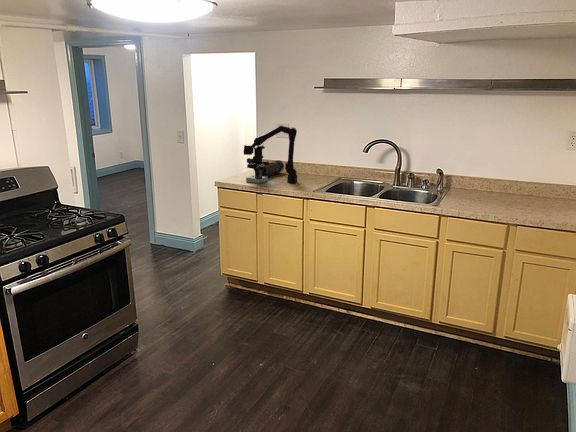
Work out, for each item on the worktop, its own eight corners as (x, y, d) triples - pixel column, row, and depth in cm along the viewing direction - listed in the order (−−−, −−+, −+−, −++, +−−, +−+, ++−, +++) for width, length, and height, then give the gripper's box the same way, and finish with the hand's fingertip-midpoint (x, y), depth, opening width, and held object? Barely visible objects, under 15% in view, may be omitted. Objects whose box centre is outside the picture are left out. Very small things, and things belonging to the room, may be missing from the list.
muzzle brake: (256, 178, 361) (256, 164, 358) (275, 172, 384) (274, 159, 382) (267, 179, 356) (267, 165, 354) (285, 173, 380) (285, 160, 377)
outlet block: (267, 182, 345) (267, 177, 344) (259, 184, 337) (259, 179, 336) (255, 180, 352) (254, 175, 351) (246, 182, 344) (246, 177, 343)
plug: (262, 179, 343) (262, 169, 341) (259, 180, 341) (259, 170, 339) (257, 178, 345) (257, 169, 343) (255, 179, 343) (255, 169, 341)
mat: (280, 183, 341) (280, 182, 341) (273, 185, 334) (273, 185, 334) (270, 182, 346) (270, 181, 346) (263, 184, 339) (263, 183, 339)
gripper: (257, 152, 350) (258, 173, 354) (241, 155, 335) (241, 177, 339) (269, 153, 343) (269, 174, 348) (253, 156, 329) (253, 179, 333)
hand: (258, 176), depth 342 cm, fingers closed on plug, 3 cm apart
